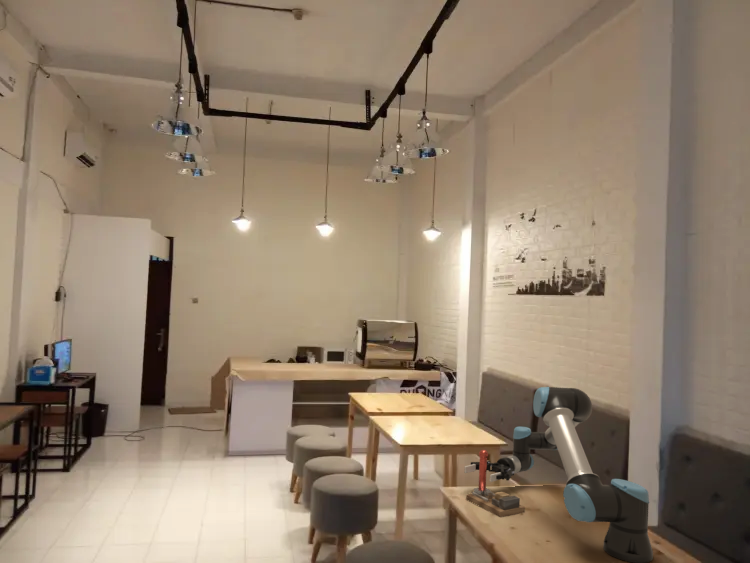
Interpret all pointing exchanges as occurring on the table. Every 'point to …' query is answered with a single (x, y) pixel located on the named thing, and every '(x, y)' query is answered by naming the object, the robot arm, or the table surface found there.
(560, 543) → the table surface
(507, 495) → the block
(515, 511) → the press bed
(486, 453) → the press lever
